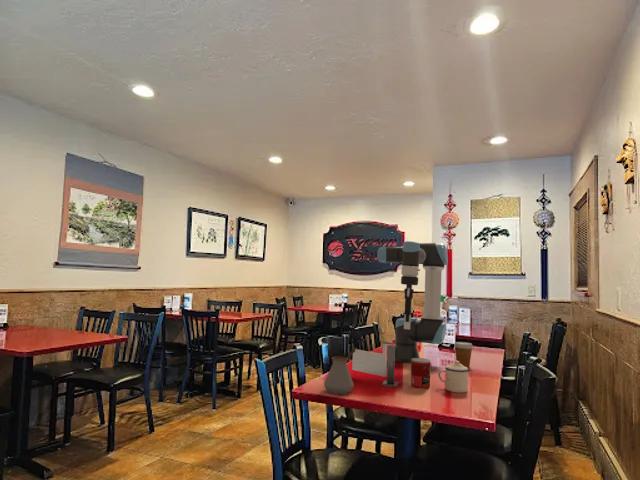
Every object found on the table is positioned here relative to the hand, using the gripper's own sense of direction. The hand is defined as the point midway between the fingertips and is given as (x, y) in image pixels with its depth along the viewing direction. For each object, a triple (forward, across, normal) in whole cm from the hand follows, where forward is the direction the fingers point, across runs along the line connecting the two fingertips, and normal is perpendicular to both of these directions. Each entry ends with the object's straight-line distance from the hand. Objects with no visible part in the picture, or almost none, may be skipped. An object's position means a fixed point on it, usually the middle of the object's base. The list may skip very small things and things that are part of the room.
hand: (406, 328), depth 197 cm
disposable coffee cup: (+23, +45, -28) cm, 58 cm away
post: (+22, -12, +5) cm, 26 cm away
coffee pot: (+23, -28, +22) cm, 42 cm away
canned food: (+22, -10, -7) cm, 25 cm away
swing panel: (+19, -8, +13) cm, 25 cm away
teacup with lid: (+22, -10, -20) cm, 31 cm away
